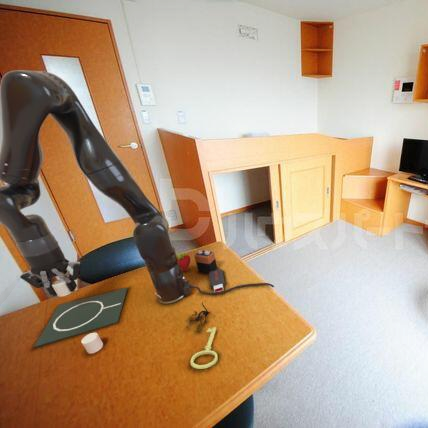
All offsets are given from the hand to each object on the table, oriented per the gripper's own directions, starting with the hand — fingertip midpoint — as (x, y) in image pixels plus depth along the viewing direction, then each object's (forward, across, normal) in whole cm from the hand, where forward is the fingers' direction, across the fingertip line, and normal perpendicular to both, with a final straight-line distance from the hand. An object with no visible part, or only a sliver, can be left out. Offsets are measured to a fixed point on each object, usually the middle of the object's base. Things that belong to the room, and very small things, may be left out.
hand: (65, 291), depth 79 cm
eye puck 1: (0, 0, 0) cm, 0 cm away
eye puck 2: (+9, +10, -20) cm, 24 cm away
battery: (+9, +43, +4) cm, 44 cm away
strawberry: (+9, +34, +8) cm, 36 cm away
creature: (+9, +38, -24) cm, 46 cm away
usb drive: (+9, +46, -6) cm, 47 cm away
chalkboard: (+9, +4, -3) cm, 10 cm away
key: (+9, +40, -36) cm, 54 cm away
